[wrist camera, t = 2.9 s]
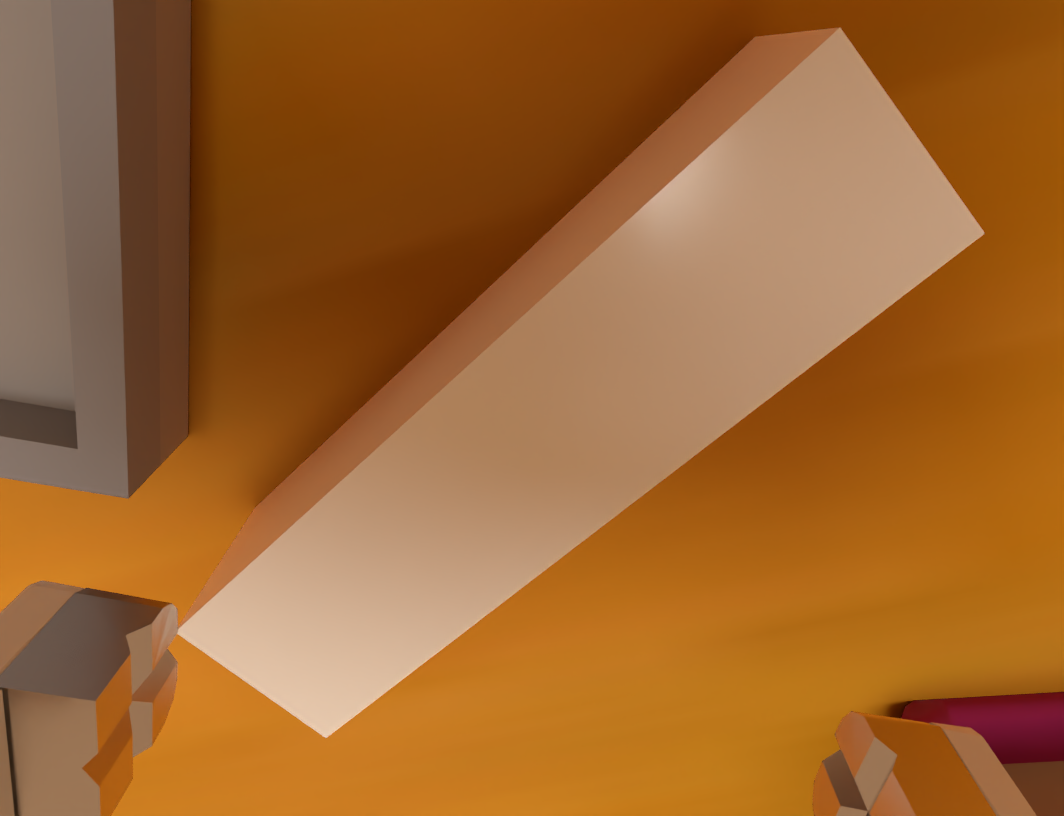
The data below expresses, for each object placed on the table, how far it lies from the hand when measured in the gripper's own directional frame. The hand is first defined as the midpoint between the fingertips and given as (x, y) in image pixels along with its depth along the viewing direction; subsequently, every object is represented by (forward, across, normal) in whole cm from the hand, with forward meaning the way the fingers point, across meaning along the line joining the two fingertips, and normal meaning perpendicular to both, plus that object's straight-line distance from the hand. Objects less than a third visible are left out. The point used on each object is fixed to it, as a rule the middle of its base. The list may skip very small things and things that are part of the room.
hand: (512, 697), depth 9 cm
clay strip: (+10, 0, -1) cm, 10 cm away
